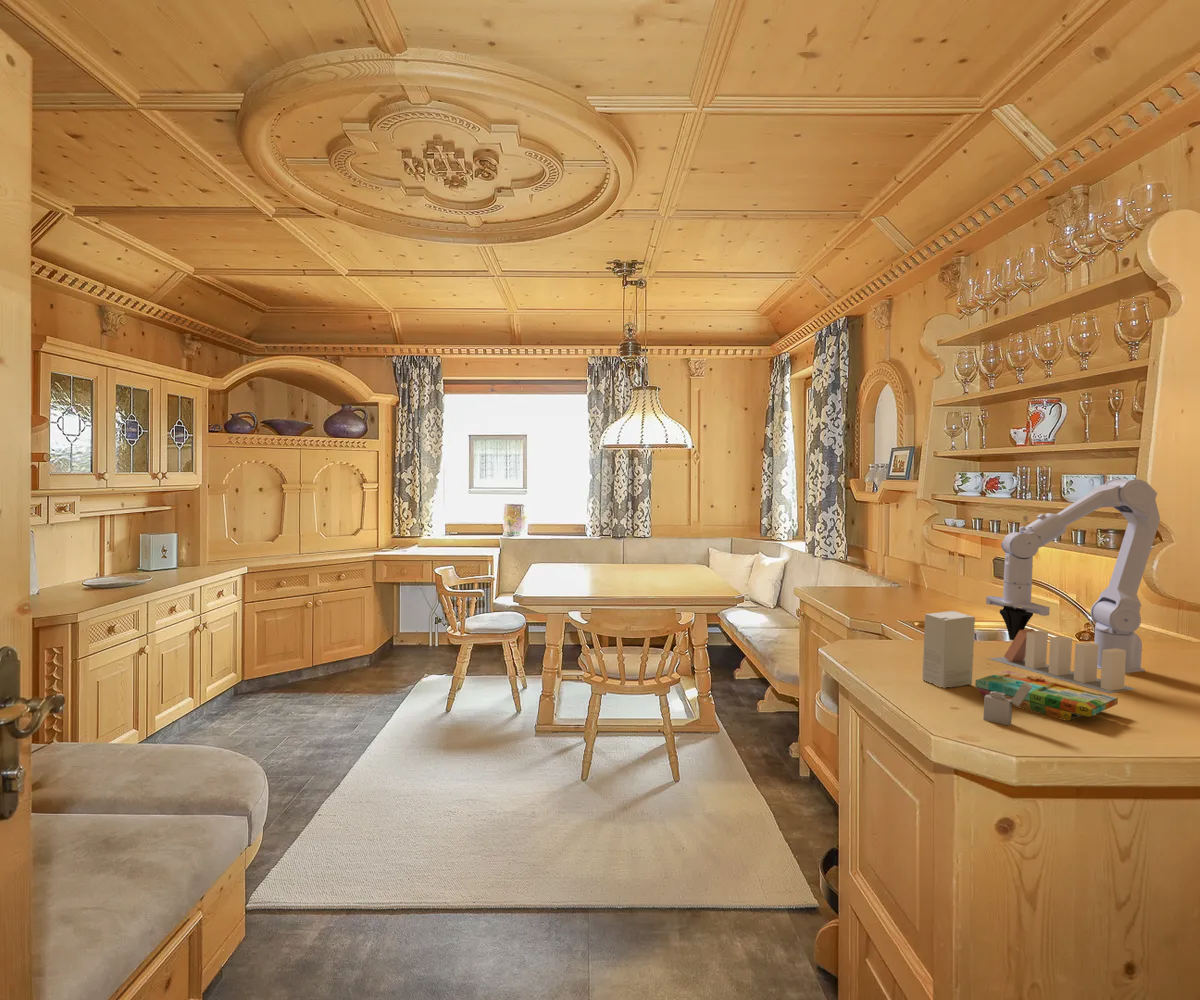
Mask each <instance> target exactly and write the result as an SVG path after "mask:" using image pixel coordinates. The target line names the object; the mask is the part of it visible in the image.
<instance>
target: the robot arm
mask: <svg viewBox="0 0 1200 1000" xmlns="http://www.w3.org/2000/svg"><path fill="white" fill-rule="evenodd" d="M1157 495H1158V492H1157V491H1156V490H1155V489H1154V488H1153V487H1152V486H1151V485H1150V484H1149V483H1148V482H1147V481H1145V480H1143V479H1140V478H1139V479H1136V478H1135V479H1122V478H1115V479H1110V480H1108V481H1107V482H1105V483H1104V484H1100V485H1098V486H1096V487H1095V488H1093V489H1092V490H1091V491H1090V492H1088V493H1087V494H1085V495H1083V496H1082V497H1080V498H1078V499H1077V500H1076V501H1074V502H1073V503H1071V504H1070V505H1068V506H1066V507H1065V508H1064V509H1062V510H1061V511H1060V512H1057V513H1053V512H1047V513H1045V514H1043V513H1040V514H1039V515H1038V514H1037V516H1036V518H1037V519H1036V520H1034V521H1032V522H1030V523H1028V524H1027V525H1026V526H1023V525H1022V526H1020V527H1018V530H1019V531H1018V532H1017V531H1013V532H1010V533H1007V535H1005V537H1004V539H1002V542H1001V543H1000V545H1001V546H1000V547H1001V549H1002V551H1003V552H1004V563H1003V564H1004V566H1003V568H1004V569H1003V586H1002V587H1003V589H1002V590H1003V591H1002V597H1001V596H1000V597H999V596H994V595H988V596H986V597H985V600H986V601H985V604H986V605H990V606H991V605H993V606H997V607H1002V608H1001V609H999V614H1000V615H1001V617H1002V619H1003V622H1004V623H1005V626H1006V629H1007V634H1008V637H1009V640H1010V641H1013V640H1014V639H1015V637H1016V635H1017V633H1018V632H1019V630H1025V628H1026V626H1027V625H1028V623H1029V621H1030V620H1031V618H1032V617H1033V616H1034V614H1036V615H1039V616H1042V617H1044V616H1050V606H1046V605H1042V604H1038V603H1035V602H1032V588H1033V587H1032V586H1033V567H1034V566H1033V561H1034V558H1033V557H1034V556H1036V555H1037V553H1038V551H1039V548H1042V547H1044V546H1045V545H1047V544H1049V543H1050V542H1052V541H1053V540H1055V539H1057V538H1059V537H1060V536H1062V535H1064V534H1065V533H1066V532H1067V527H1068V525H1071V524H1072V523H1074V522H1076V521H1078V520H1080V519H1081V518H1084V517H1085V516H1087V515H1089V514H1091V513H1093V512H1095V511H1096V510H1098V509H1100V508H1114V509H1115V510H1117V511H1119V513H1120V514H1121V515H1122V516H1123V517H1124V518H1125V520H1126V522H1128V523H1127V525H1126V529H1125V532H1124V535H1123V538H1122V542H1121V544H1120V545H1121V546H1120V549H1119V551H1118V555H1117V557H1116V558H1117V559H1116V561H1115V564H1114V568H1113V570H1112V573H1111V577H1110V580H1109V584H1108V586H1107V587H1106V588H1105V589H1104V590H1102V591H1101V592H1100V594H1099V597H1098V599H1097V600H1096V601H1095V602H1094V603H1093V604H1092V606H1091V608H1090V616H1091V618H1092V620H1093V621H1094V622H1095V626H1094V640H1093V641H1094V642H1093V643H1095V644H1098V660H1097V670H1102V651H1103V650H1106V649H1114V648H1117V649H1121V650H1126V664H1125V674H1131V673H1132V674H1133V673H1138V672H1145V671H1146V669H1145V668H1143V667H1142V654H1143V652H1142V651H1143V642H1142V639H1141V638H1140V635H1138V633H1136V631H1137V630H1138V629H1139V627H1140V626H1141V623H1142V617H1141V613H1140V612H1141V611H1140V610H1141V607H1142V603H1141V600H1140V599H1139V596H1138V591H1139V588H1140V585H1141V582H1142V579H1143V575H1144V573H1145V569H1146V566H1147V563H1148V559H1149V557H1150V554H1151V550H1152V547H1153V543H1154V541H1155V537H1156V535H1157V531H1158V528H1159V525H1160V521H1161V516H1160V512H1159V509H1158V508H1159V507H1158V505H1157V504H1158V503H1157V500H1156V499H1157Z"/></svg>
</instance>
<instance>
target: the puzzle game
mask: <svg viewBox="0 0 1200 1000" xmlns="http://www.w3.org/2000/svg"><path fill="white" fill-rule="evenodd" d="M1024 682H1026V683H1028V684H1029V685H1031V686H1032V688H1031V690H1030V691H1029V692H1028V694H1027V695H1026V697H1025V698H1024V700H1023V701H1022V703H1021V704H1020V705H1019V706H1018V707H1017V706H1016V705H1014V704H1013V703H1012V705H1013V706H1012V707H1016V708H1019V707H1020V708H1019V709H1023V708H1024V710H1026V709H1028V710H1027V711H1030V710H1032V711H1031V712H1034V711H1035V712H1034V713H1037V712H1039V713H1038V714H1041V713H1042V715H1045V714H1046V715H1045V716H1048V715H1050V717H1052V716H1054V717H1053V718H1055V717H1057V718H1056V719H1059V718H1061V719H1060V720H1063V719H1065V720H1064V721H1066V720H1070V721H1072V720H1075V719H1077V718H1079V717H1081V716H1082V717H1087V718H1088V717H1092V716H1095V715H1096V714H1099V713H1101V712H1103V711H1106V710H1107V709H1111V708H1112V707H1114V706H1116V705H1118V703H1119V701H1118V700H1119V698H1118V697H1114V696H1111V695H1107V694H1103V693H1099V692H1095V691H1090V690H1087V689H1082V688H1079V687H1075V686H1072V685H1067V684H1063V683H1059V682H1055V681H1051V680H1047V679H1045V678H1042V676H1038V675H1035V676H1033V675H1027V674H1023V673H1018V672H1015V671H1010V670H1003V671H1001V672H997V673H995V674H990V675H988V676H985V677H981V678H978V679H975V683H974V684H975V688H976V689H977V690H978V692H979V693H980V695H981V696H982V697H983V698H984V696H985V695H990V692H994V691H996V692H1001V693H1005V698H1006V699H1011V700H1012V699H1013V697H1014V696H1015V694H1016V693H1017V691H1018V690H1019V688H1020V687H1021V685H1022V684H1023V683H1024ZM1080 715H1081V716H1080ZM1078 716H1079V717H1078ZM1076 717H1077V718H1076ZM1071 719H1072V720H1071Z"/></svg>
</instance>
